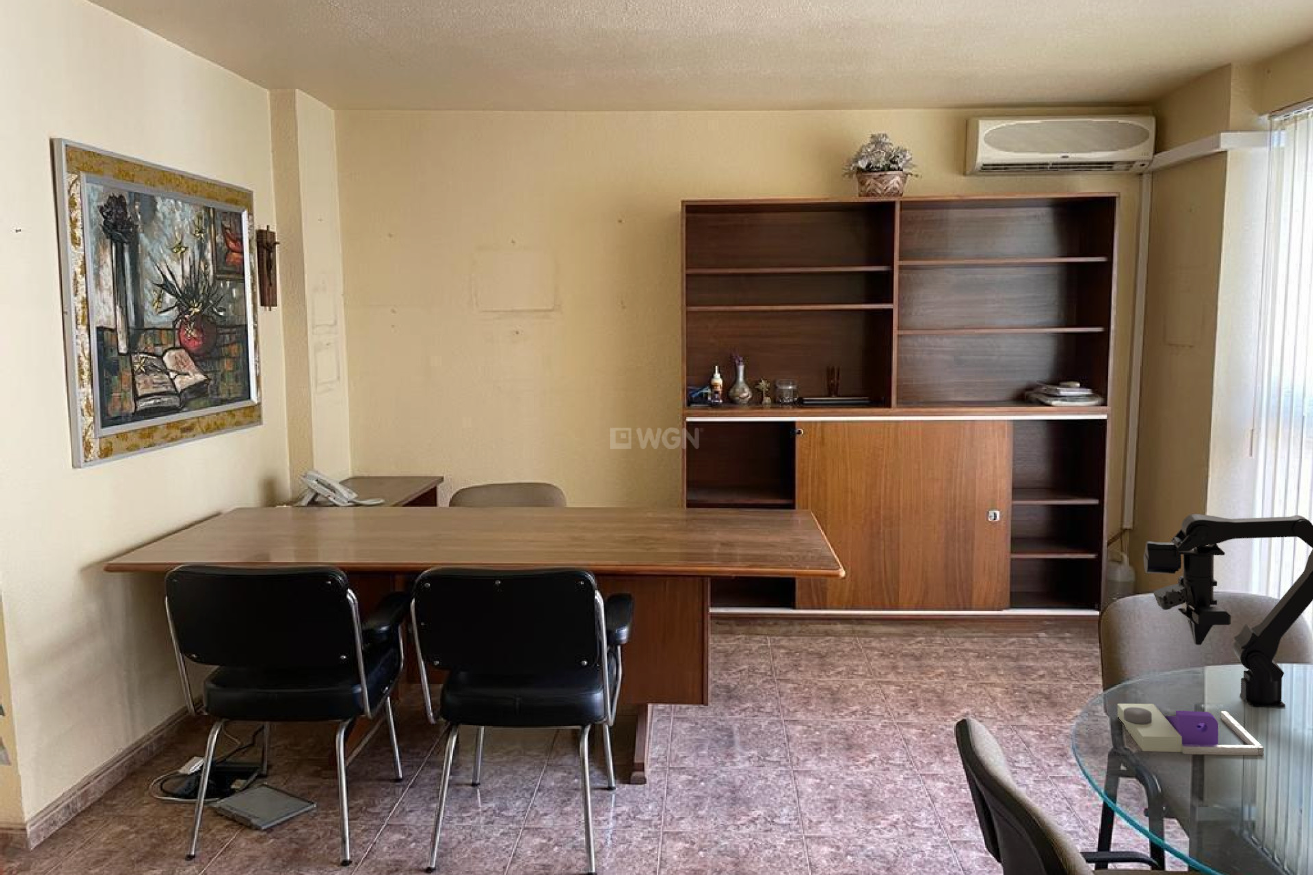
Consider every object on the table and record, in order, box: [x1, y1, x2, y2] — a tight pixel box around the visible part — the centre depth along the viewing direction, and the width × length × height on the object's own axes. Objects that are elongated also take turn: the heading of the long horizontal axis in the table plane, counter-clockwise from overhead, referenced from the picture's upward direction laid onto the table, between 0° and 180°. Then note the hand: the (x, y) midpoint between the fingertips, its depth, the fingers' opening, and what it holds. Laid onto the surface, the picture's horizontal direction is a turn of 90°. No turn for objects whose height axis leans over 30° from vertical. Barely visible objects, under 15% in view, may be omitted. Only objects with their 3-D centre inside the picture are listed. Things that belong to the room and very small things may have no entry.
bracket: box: [1163, 710, 1219, 745], centre depth 191 cm, size 12×7×7 cm, turn 165°
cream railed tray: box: [1117, 703, 1265, 756], centre depth 191 cm, size 22×17×4 cm
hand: (1197, 644), depth 207 cm, fingers closed
